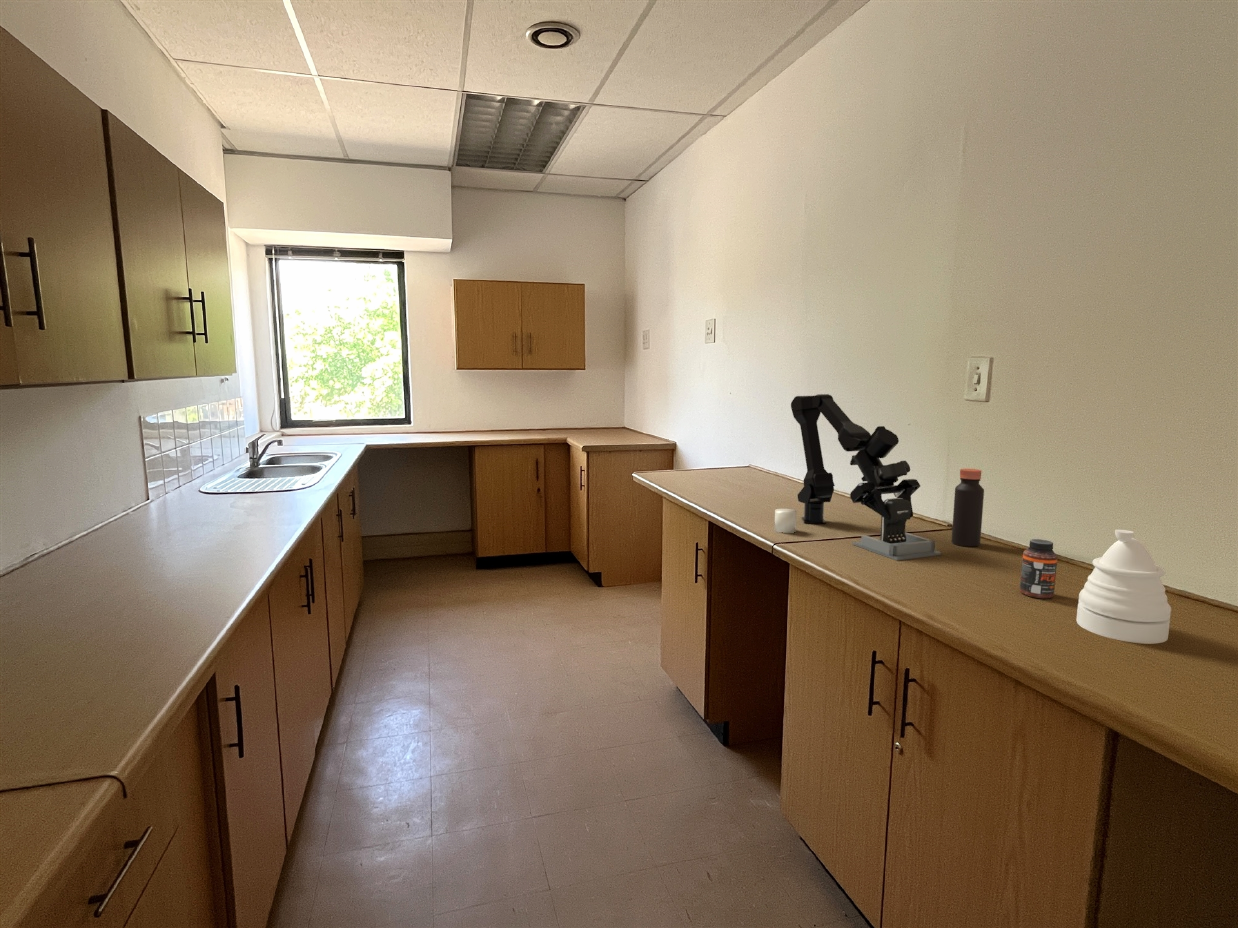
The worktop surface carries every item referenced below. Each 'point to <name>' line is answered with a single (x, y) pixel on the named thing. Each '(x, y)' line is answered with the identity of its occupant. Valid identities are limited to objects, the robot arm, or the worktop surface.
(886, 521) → the battery charger
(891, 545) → the tray
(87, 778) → the worktop surface
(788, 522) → the white rounded cube
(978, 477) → the vinegar
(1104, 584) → the honey pot
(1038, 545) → the supplement bottle
